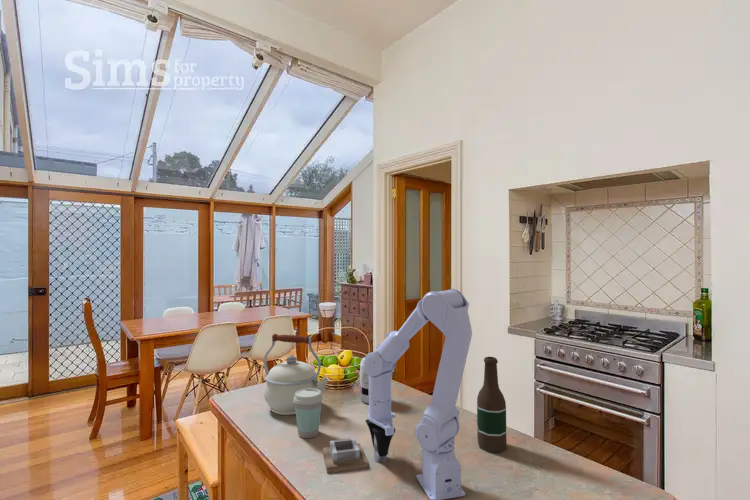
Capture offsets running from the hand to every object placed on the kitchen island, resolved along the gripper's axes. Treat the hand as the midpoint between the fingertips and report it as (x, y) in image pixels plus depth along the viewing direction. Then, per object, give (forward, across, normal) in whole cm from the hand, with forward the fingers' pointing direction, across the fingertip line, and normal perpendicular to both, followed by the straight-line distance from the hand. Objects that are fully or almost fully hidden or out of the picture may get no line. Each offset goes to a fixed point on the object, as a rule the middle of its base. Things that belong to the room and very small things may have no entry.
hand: (380, 451), depth 98 cm
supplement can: (+2, +39, -11) cm, 41 cm away
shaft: (+2, 0, 0) cm, 2 cm away
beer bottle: (+2, -4, -31) cm, 31 cm away
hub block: (+2, +3, +9) cm, 9 cm away
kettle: (+2, +42, +16) cm, 45 cm away
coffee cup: (+2, +21, +15) cm, 26 cm away
